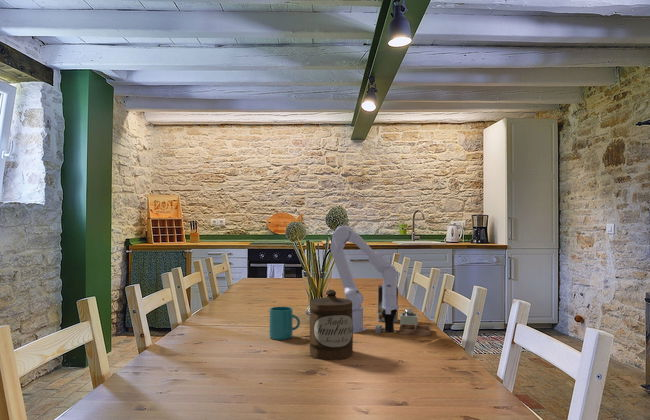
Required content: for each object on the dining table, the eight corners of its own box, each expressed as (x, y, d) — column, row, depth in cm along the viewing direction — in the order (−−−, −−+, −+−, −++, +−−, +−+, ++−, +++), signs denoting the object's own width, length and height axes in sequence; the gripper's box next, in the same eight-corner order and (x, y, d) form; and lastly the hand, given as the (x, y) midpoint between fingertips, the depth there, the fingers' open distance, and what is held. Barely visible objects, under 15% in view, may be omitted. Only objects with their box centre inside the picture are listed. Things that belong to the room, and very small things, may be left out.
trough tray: (399, 335, 183) (399, 329, 183) (400, 330, 193) (400, 323, 193) (431, 337, 181) (431, 330, 181) (430, 331, 190) (430, 325, 190)
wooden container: (315, 361, 149) (316, 293, 150) (305, 349, 164) (305, 287, 164) (358, 358, 153) (358, 292, 154) (345, 346, 168) (345, 286, 168)
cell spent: (410, 326, 197) (410, 309, 198) (403, 324, 200) (403, 308, 200) (414, 324, 200) (414, 308, 200) (407, 323, 202) (407, 307, 203)
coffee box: (377, 323, 206) (377, 287, 206) (377, 320, 212) (377, 285, 212) (398, 323, 205) (398, 287, 205) (397, 320, 211) (397, 285, 211)
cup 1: (298, 340, 175) (298, 311, 175) (267, 339, 176) (267, 310, 177) (301, 335, 184) (301, 306, 184) (272, 334, 185) (272, 306, 186)
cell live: (390, 332, 186) (390, 315, 186) (383, 331, 189) (383, 314, 189) (395, 331, 189) (395, 314, 189) (388, 329, 191) (388, 312, 192)
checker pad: (374, 333, 186) (374, 328, 186) (376, 329, 194) (376, 324, 194) (396, 335, 184) (396, 329, 184) (397, 330, 192) (397, 325, 192)
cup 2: (400, 327, 197) (400, 315, 197) (401, 324, 204) (401, 312, 204) (417, 328, 196) (417, 316, 196) (417, 324, 203) (417, 313, 203)
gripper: (398, 298, 181) (398, 333, 181) (400, 292, 195) (400, 325, 195) (380, 297, 183) (380, 332, 182) (383, 292, 197) (383, 324, 197)
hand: (389, 328), depth 189 cm, fingers closed on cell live, 4 cm apart
